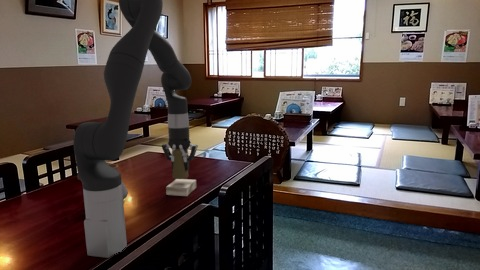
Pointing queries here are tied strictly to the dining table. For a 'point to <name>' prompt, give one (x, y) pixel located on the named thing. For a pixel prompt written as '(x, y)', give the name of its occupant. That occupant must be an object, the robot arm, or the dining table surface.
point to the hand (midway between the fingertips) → (180, 170)
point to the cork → (179, 165)
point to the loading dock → (181, 187)
